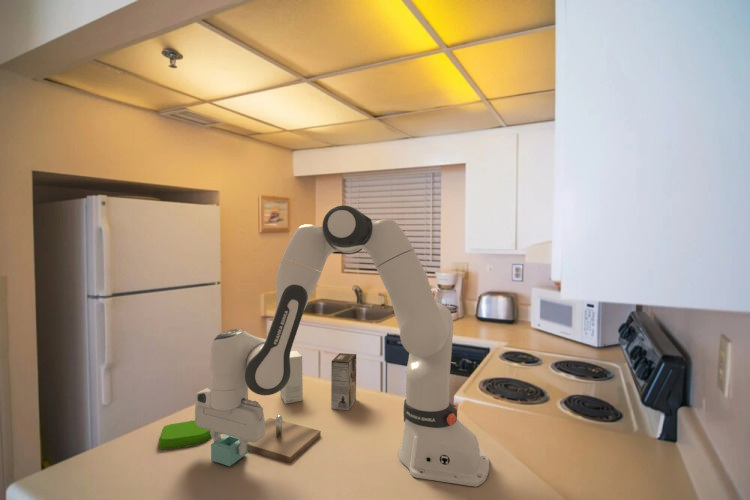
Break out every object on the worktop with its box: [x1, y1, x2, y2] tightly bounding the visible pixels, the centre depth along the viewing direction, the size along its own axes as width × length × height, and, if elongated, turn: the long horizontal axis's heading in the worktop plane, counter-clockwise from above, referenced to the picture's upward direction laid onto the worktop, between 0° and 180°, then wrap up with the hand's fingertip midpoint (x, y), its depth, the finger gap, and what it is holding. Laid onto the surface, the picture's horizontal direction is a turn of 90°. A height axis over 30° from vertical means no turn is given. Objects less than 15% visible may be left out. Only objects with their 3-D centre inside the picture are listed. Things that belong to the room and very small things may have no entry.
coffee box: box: [330, 352, 357, 411], centre depth 124 cm, size 9×6×16 cm
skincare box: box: [279, 350, 304, 405], centre depth 129 cm, size 8×7×16 cm
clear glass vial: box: [275, 415, 283, 437], centre depth 101 cm, size 2×2×6 cm
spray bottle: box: [158, 419, 212, 450], centre depth 105 cm, size 3×11×24 cm
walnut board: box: [247, 417, 322, 464], centre depth 101 cm, size 18×14×2 cm
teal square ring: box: [210, 434, 248, 467], centre depth 92 cm, size 6×6×4 cm
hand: (229, 450), depth 92 cm, fingers closed on teal square ring, 6 cm apart
